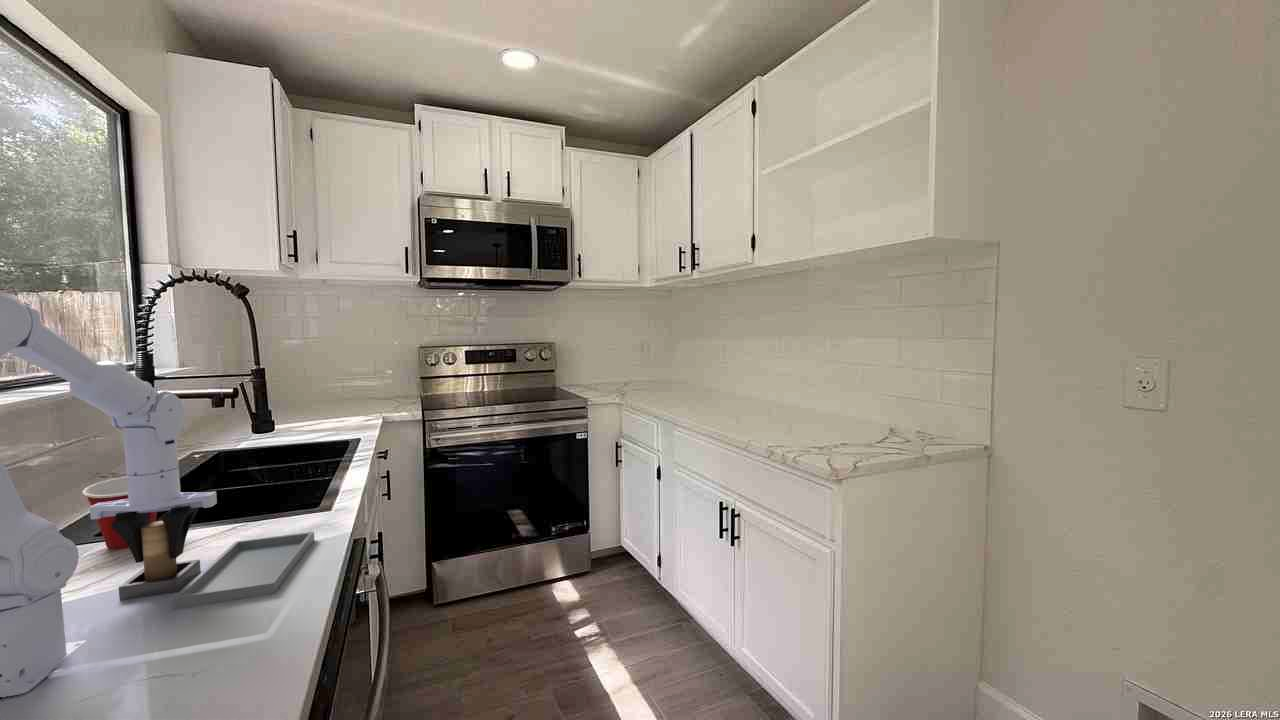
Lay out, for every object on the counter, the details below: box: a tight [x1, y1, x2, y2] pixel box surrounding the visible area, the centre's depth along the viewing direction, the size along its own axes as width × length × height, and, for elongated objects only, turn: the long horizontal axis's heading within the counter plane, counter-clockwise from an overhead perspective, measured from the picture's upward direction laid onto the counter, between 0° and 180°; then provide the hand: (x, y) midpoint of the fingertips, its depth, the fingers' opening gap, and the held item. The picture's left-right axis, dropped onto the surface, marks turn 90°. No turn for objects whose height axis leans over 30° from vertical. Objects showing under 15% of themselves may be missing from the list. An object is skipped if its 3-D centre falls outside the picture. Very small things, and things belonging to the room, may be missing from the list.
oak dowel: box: [141, 520, 177, 581], centre depth 77 cm, size 4×4×8 cm
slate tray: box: [172, 531, 315, 610], centre depth 82 cm, size 20×12×2 cm, turn 18°
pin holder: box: [118, 559, 201, 602], centre depth 78 cm, size 7×7×3 cm
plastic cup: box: [81, 475, 158, 550], centre depth 94 cm, size 11×11×12 cm
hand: (159, 557), depth 77 cm, fingers closed on oak dowel, 4 cm apart
